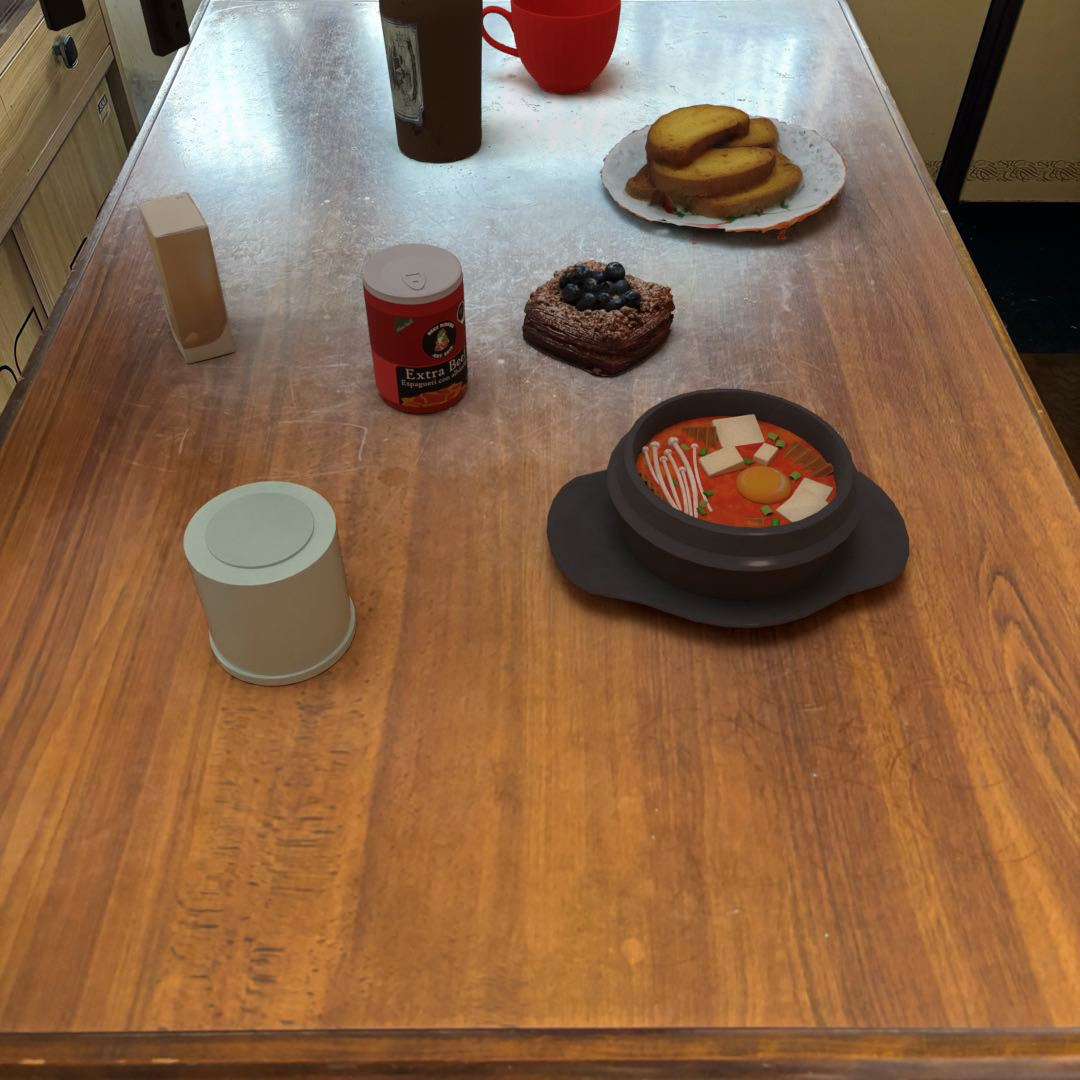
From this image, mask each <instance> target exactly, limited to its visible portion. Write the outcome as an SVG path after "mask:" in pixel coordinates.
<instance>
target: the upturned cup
mask: <svg viewBox="0 0 1080 1080" xmlns="http://www.w3.org/2000/svg"><path fill="white" fill-rule="evenodd" d="M182 542H183V543H182V544H183V546H182V547H183V552H184V555H185V558H186V561H187V565H188V567H189V571H190V574H191V577H192V580H193V584H194V586H195V589H196V594H197V596H198V600H199V603H200V606H201V609H202V612H203V615H204V619H205V622H206V624H207V625H206V626H207V628H208V639H209V644H210V648H211V652H212V654H213V656H214V658H215V660H216V662H217V663H218V665H219V666H220V667H221V668H222V669H223V670H224V671H225V672H227V673H228V674H229V675H231V676H232V677H234V678H236V679H237V680H240V681H243V682H245V683H248V684H253V685H258V686H265V687H266V686H268V687H272V686H273V687H277V686H287V685H292V684H297V683H300V682H304V681H306V680H309V679H312V678H314V677H317V676H318V675H320V674H322V673H324V672H326V671H327V670H328V669H329V668H331V667H332V666H334V665H335V664H336V663H337V662H338V661H339V660H340V659H341V658H342V657H343V656H344V655H345V654H346V652H347V651H348V649H349V648H350V646H351V644H352V642H353V641H354V637H355V635H356V629H357V615H356V609H355V604H354V602H353V599H352V597H351V596H350V593H349V586H348V581H347V575H346V570H345V563H344V559H343V553H342V545H341V541H340V536H339V530H338V524H337V518H336V515H335V512H334V509H333V507H332V506H331V504H330V503H329V501H327V499H326V498H325V497H324V496H322V495H321V494H320V493H319V492H318V491H315V490H314V489H312V488H309V487H307V486H305V485H301V484H299V483H294V482H289V481H282V480H281V481H280V480H268V481H256V482H250V483H247V484H243V485H239V486H236V487H233V488H231V489H228V490H225V491H223V492H221V493H219V494H218V495H216V496H215V497H213V498H211V499H210V500H208V501H207V502H205V503H204V504H203V505H202V506H201V507H199V509H198V510H197V511H196V512H195V513H194V515H193V516H192V517H191V519H190V520H189V521H188V524H187V526H186V528H185V531H184V534H183V540H182Z"/></svg>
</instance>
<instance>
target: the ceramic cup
mask: <svg viewBox="0 0 1080 1080" xmlns="http://www.w3.org/2000/svg"><path fill="white" fill-rule="evenodd" d="M509 3H510V11H509V10H508V9H506V8H504V7H502V6H498V5H488V6H485V7H483V20H484V19H485V17H486V16H487V15H489V14H497V15H500V16H502V17H503V18H504V20H506V21H507V23H508V25H509V27H510V29H511V32H512V33H513V39H514V44H515V47H511V46H509V45H506V44H504V43H502V42H499V41H498V40H496V39H495V38H493V37H492V36H491V35H490V34H489V32H488V31H487V29H486V28H485V25H484V23H483V26H482V39H483V40H484V41H485V42H486V43H487V44H488V45H489V46H490V47H492V48H493V49H495V50H497V51H499V52H502V53H504V54H506V55H509V56H512V57H515V58H519V59H520V62H521V63H522V65H523V67H524V69H525V70H526V72H527V73H528V74H529V76H530V77H531V78H532V80H534V82H536V84H537V85H538V87H539V88H540V89H542V90H543V91H546V92H548V93H552V94H557V95H558V94H559V95H572V94H578V93H581V92H584V91H586V90H588V89H589V88H590V87H591V86H592V84H593V83H594V82H595V81H596V80H597V79H598V78H599V76H600V75H601V74H602V73H603V72H604V70H605V69H606V67H607V66H608V64H609V62H610V60H611V58H612V55H613V52H614V49H615V46H616V42H617V39H618V32H619V28H620V27H619V26H620V20H621V19H620V17H621V11H622V0H510V2H509Z"/></svg>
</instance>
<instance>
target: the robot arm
mask: <svg viewBox="0 0 1080 1080" xmlns="http://www.w3.org/2000/svg"><path fill="white" fill-rule="evenodd" d="M38 2H39V5H40V8H41V9H40V10H41V12H42V16H43V19H44V22H45V26H46V28H47V29H48V30H49V31H52V32H59V31H62V30H64V29H66V28H69V27H71V26H73V25H75V24H78V23H81V22H83V21H85V19H86V18H87V11H86V9H85V4H84V1H83V0H38ZM139 4H140V8H141V13H142V16H143V21H144V26H145V29H146V33H147V37H148V41H149V45H150V50H151V52H152V54H153V55H154V56H156V57H161V58H165V57H167V56H168V55H170V54H172V53H174V52H176V51H178V50H180V49H182V48H184V47H186V46H188V45H189V44H190V43H191V34H190V29H189V25H188V20H187V16H186V15H187V14H186V11H185V6H184V1H183V0H139Z"/></svg>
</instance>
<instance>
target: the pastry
mask: <svg viewBox="0 0 1080 1080" xmlns="http://www.w3.org/2000/svg"><path fill="white" fill-rule="evenodd" d="M626 273H627V271H626V269H625V267H624V265H623V264H622V263H620V262H618V261H611V262H609V263H604V262H601V261H596V259H591V260H587V261H584V262H582V261H578V262H576V263H575V264H574V265H572V264H571V265H569V266H566V268H561V270H560V271H559V270H554V272H553V275H552V276H553V278H552V277H551V278H550V279H549V280H548V281H545V283H543V284H541V285H539V286H537V287H536V289H535V291H532V292H531V293H530V294H529V299H528V300H527V301H526V302H525V305H524V308H523V312H524V315H525V316H524V317H523V325H522V326H521V331H522V337H523V340H524V342H525V343H527V344H528V345H529V346H531V347H532V348H533V349H535V350H536V351H538V352H540V353H542V354H544V355H545V356H548V357H550V358H552V359H555V360H556V361H559V362H562V363H563V364H566V365H569V366H573V367H576V368H579V369H581V370H584V371H586V372H588V373H589V374H595V375H600V376H602V377H616V376H619V375H621V374H624V373H625V372H628V371H630V370H632V369H634V368H636V367H638V366H639V365H641V364H643V363H644V362H645V361H646V360H648V359H650V358H651V357H652V356H654V355H655V354H656V353H657V352H659V351H660V350H661V349H662V348H663V347H664V345H665V344H666V342H667V341H668V338H669V337H670V335H671V334H670V333H671V331H672V330H671V327H672V324H673V322H674V318H675V313H673V312H674V311H675V310H676V304H675V303H674V302H675V301H674V299H673V298H674V295H673V294H672V293H671V292H672V288H671V287H669V285H668V286H664V285H662V284H659V283H656V282H653V281H645V280H643V279H641V278H639V277H637V276H633V275H632V274H626Z"/></svg>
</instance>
